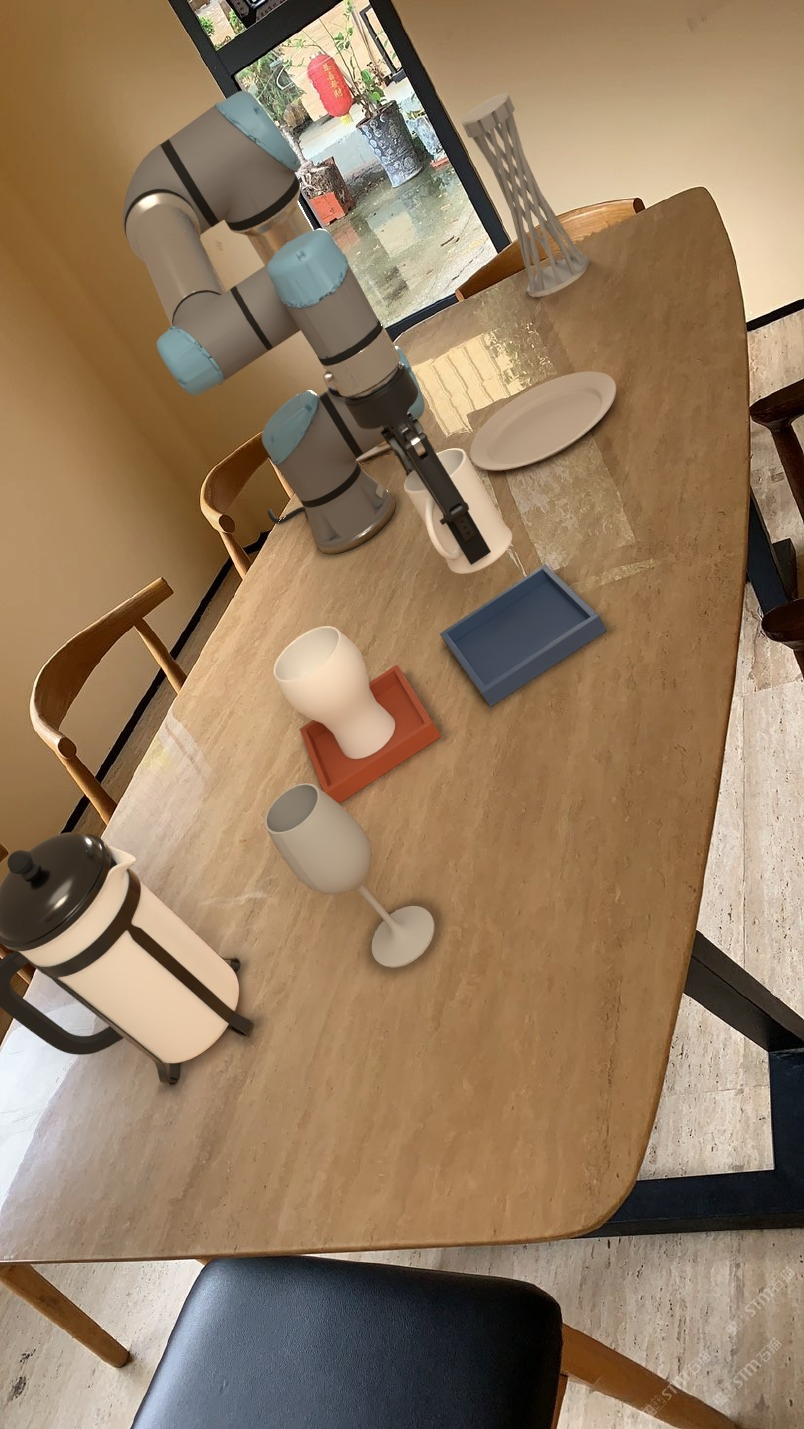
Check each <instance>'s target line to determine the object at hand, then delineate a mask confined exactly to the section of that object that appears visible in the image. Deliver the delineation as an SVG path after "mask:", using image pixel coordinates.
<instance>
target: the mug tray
mask: <svg viewBox="0 0 804 1429" xmlns="http://www.w3.org/2000/svg"><path fill="white" fill-rule="evenodd" d="M606 632H607V628H606V627H605V624H604V622H603V620H602V619H601V617H600V615H599V614H598V613H597V612H596V611H595V610H594V609H592V607H591V606H590V605H589V604H587V602H585V601H584V600H583V598H581V596H579V595H578V594H577V592H575V591H574V590H573V589H572V588H571V587H570V586H569V585H568V584H567V583H566V582H565V581H564V580H563V579H562V578H560V576H558V574H556V572H555V571H553V569H551V567H549V566H548V565H547V564H546V563H544V564H542V565H541V566H539V567H537V568H536V569H535V570H533V571H531V572H530V573H529V574H527V575H525V576H524V577H523V578H521V579H520V580H518V581H517V582H515V583H514V584H512V585H510V586H509V587H508V588H506V589H504V590H503V591H502V592H500V593H499V594H497V595H495V596H494V597H493V598H491V599H489V600H488V601H486V602H485V603H483V604H482V605H481V606H479V607H477V608H476V609H474V610H472V611H471V612H470V613H468V614H467V615H466V616H464V617H463V618H461V619H459V620H458V621H456V622H455V623H453V624H452V625H450V626H449V627H447V628H446V629H444V630H443V631H441V632H440V633H439V635H440V637H441V638H442V640H443V642H444V643H445V644H446V646H447V647H448V649H449V650H450V652H451V653H452V655H453V656H454V658H456V660H457V662H458V663H459V664H460V666H461V668H462V669H463V670H464V671H465V673H466V675H467V676H468V677H469V679H470V680H471V682H472V683H473V684H474V686H475V687H476V688H477V690H478V691H479V693H480V695H481V696H482V697H483V698H484V700H485V701H486V703H487V704H488V705H489V707H490V708H491V707H493V706H494V705H497V703H500V702H501V701H502V700H504V699H505V698H507V697H509V696H510V695H512V694H513V693H514V692H516V691H517V690H519V689H520V688H522V687H524V686H525V685H526V684H528V683H530V682H531V681H533V680H534V679H536V678H537V677H538V676H540V675H542V674H543V673H545V672H546V671H548V670H549V669H551V668H553V667H554V666H555V665H557V664H558V663H560V662H562V661H563V660H565V659H567V657H569V656H571V655H573V654H574V653H576V652H577V651H579V650H580V649H582V648H583V647H584V646H586V645H588V644H589V643H590V642H592V641H594V640H595V639H596V638H598V637H600V636H601V635H603V634H604V633H606Z"/></svg>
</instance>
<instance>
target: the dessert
mask: <svg viewBox="0 0 804 1429" xmlns="http://www.w3.org/2000/svg"><path fill="white" fill-rule="evenodd" d="M389 450H392V449H391V447H390V445H388V444H387V442H386V441H384V442H382V443H381V444H379V445H378V446H376V447H375V448H373V449H371V450H370V451H368V452H367V453H365V454H363V455H362V456H360V457H359V458H357V459H356V460H357V462H358V463H359V462H363V461H366V460H368V459H370V458H372V457H375V456H378V455H379V454H382V453H384V452H386V451H389Z"/></svg>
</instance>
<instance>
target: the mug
mask: <svg viewBox="0 0 804 1429" xmlns="http://www.w3.org/2000/svg"><path fill="white" fill-rule="evenodd" d="M436 455H437V456H438V458H439V460H440V461H441V463H442V465H443V466H444V468H445V470H446V471H447V473H448V475H449V476H450V478H451V480H452V481H453V483H454V485H455V486H456V488H457V489H458V491H459V493H460V494H461V496H462V498H463V499H464V501H465V502H466V503H467V504H468V507H469V510H468V512H469V514H470V515H471V517H472V519H473V521H474V522H475V524H476V526H477V528H478V529H479V531H480V533H481V535H482V537H483V538H484V540H485V542H486V544H487V545H488V547H489V549H490V551H491V552H490V553H489V554H487V555H486V556H484V557H483V558H481V559H480V560H478V561H477V562H475V563H474V564H472V565H471V564H470V563H469V561H468V560H467V558H466V556H465V555H464V553H463V551H462V549H461V548H460V546H459V544H458V543H457V541H456V539H455V537H454V536H453V534H452V532H451V531H450V529H449V527H448V526H447V524H446V523H445V524H444V525H442V524H441V523H440V520H441V519H442V518H444V517H443V513H442V512H441V510H440V509H439V507H438V506H437V504H436V503H435V501H434V499H433V498H432V496H431V495H430V493H429V492H428V490H427V489H426V487H425V486H424V484H423V482H422V481H421V479H420V478H419V476H418V475H417V473H416V472H415V470H413V471H411V472H410V474H409V475H408V476H407V475H406V477H405V480H404V482H403V489H404V491H405V493H406V495H407V496H408V498H409V500H410V501H411V503H412V505H413V506H414V508H415V510H416V511H417V513H418V514H419V516H420V519H421V520H422V521H423V523H424V524H425V527H426V530H427V533H428V536H429V539H430V541H431V543H432V546H433V547H434V549H435V550H436V552H438V554H439V555H441V557H443V558H445V561H446V563H447V567H448V568H449V570H450V571H451V572H453V573H455V574H459V575H461V574H462V575H466V574H471V573H474V572H477V571H480V570H482V569H486V567H489V566H490V565H492V564H493V563H495V562H496V561H497V560H498V559H500V558H501V557H502V556H503V555H504V554H505V553H506V551H508V549H509V547H510V546H511V543H512V541H513V532H512V531H511V529H510V528H509V527H508V526H507V524H506V523H505V522H504V520H503V518H502V517H501V515H500V513H499V511H498V509H497V508H496V506H495V504H494V502H493V500H492V498H491V497H490V495H489V493H488V491H487V490H486V487H485V485H484V484H483V482H482V480H481V479H480V477H479V475H478V473H477V471H476V469H475V467H474V466H473V463H472V462H471V459H469V457H468V455H467V453H466V451H464V449H462V448H448V449H445V450H442V451H439V452H437V453H436Z"/></svg>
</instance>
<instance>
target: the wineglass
mask: <svg viewBox="0 0 804 1429" xmlns="http://www.w3.org/2000/svg"><path fill="white" fill-rule="evenodd" d="M264 826H265V829H266V831H267V833H268V835H269V837H270V838H271V840H272V842H273V844H274V846H275V847H276V849H277V851H278V853H279V854H280V856H281V857H282V858H283V860H284V862H285V863H286V864H287V866H288V868H289V869H290V870H291V871H292V873H293V874H294V875H295V877H297V879H299V881H300V882H301V883H302V884H304V885H305V886H306V887H307V888H309V889H310V890H312V891H313V892H316V893H319V894H322V895H326V896H338V895H339V896H340V895H345V894H347V893H350V892H353V891H356V892H358V893H359V894H361V896H362V897H363V898H364V899H365V900H366V901H367V903H369V905H370V906H371V907H372V908H373V909H374V910H375V912H376V913H377V914H378V915H379V916H380V918H382V921H381V923H379V925H378V926H377V929H376V930H375V932H374V934H373V937H372V940H371V954H372V955H373V958H374V959H375V961H376V962H377V963H378V964H379V965H381V966H383V967H384V968H391V969H395V968H403V967H404V966H407V965H409V964H411V963H412V962H414V961H416V960H418V958H419V957H420V956H422V955H423V954H424V952H425V951H426V950H428V947H429V946H430V944H431V942H432V941H433V937H434V934H435V926H436V925H435V921H434V917H433V916H432V914H431V912H430V911H428V910H427V909H426V908H424V907H421V906H419V905H409V906H408V905H407V906H403V907H401V908H398V909H396V910H395V911H393V912H391V913H390V914H389V913H388V911H386V909H385V908H384V907H383V906H382V905H381V903H380V902H379V901H378V900H377V899H376V897H375V896H373V894H372V893H371V892H370V891H369V889H368V888H367V886H366V885H365V880H366V878H367V876H368V875H369V872H370V870H371V865H372V858H373V850H372V846H371V841H370V838H369V837H368V835H367V833H366V831H365V830H364V828H363V826H362V825H361V824H360V822H359V821H358V820H357V819H356V818H355V817H354V815H352V814H351V813H350V812H349V811H347V809H345V808H344V807H343V806H342V805H341V804H340V803H339V804H338V803H337V802H336V801H335V800H333V799H332V798H331V797H330V796H328V795H327V794H326V793H325V792H323V790H322V788H319V787H318V786H317V785H315V784H313V783H309V782H306V783H305V782H304V783H303V782H302V783H299V784H296V785H294V786H291V787H289V788H287V789H285V790H284V791H283V792H282V793H281V794H279V795H278V796H277V797H276V798H275V799H274V801H272V803H271V804H270V806H269V807H268V809H267V810H266V813H265V817H264Z"/></svg>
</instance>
